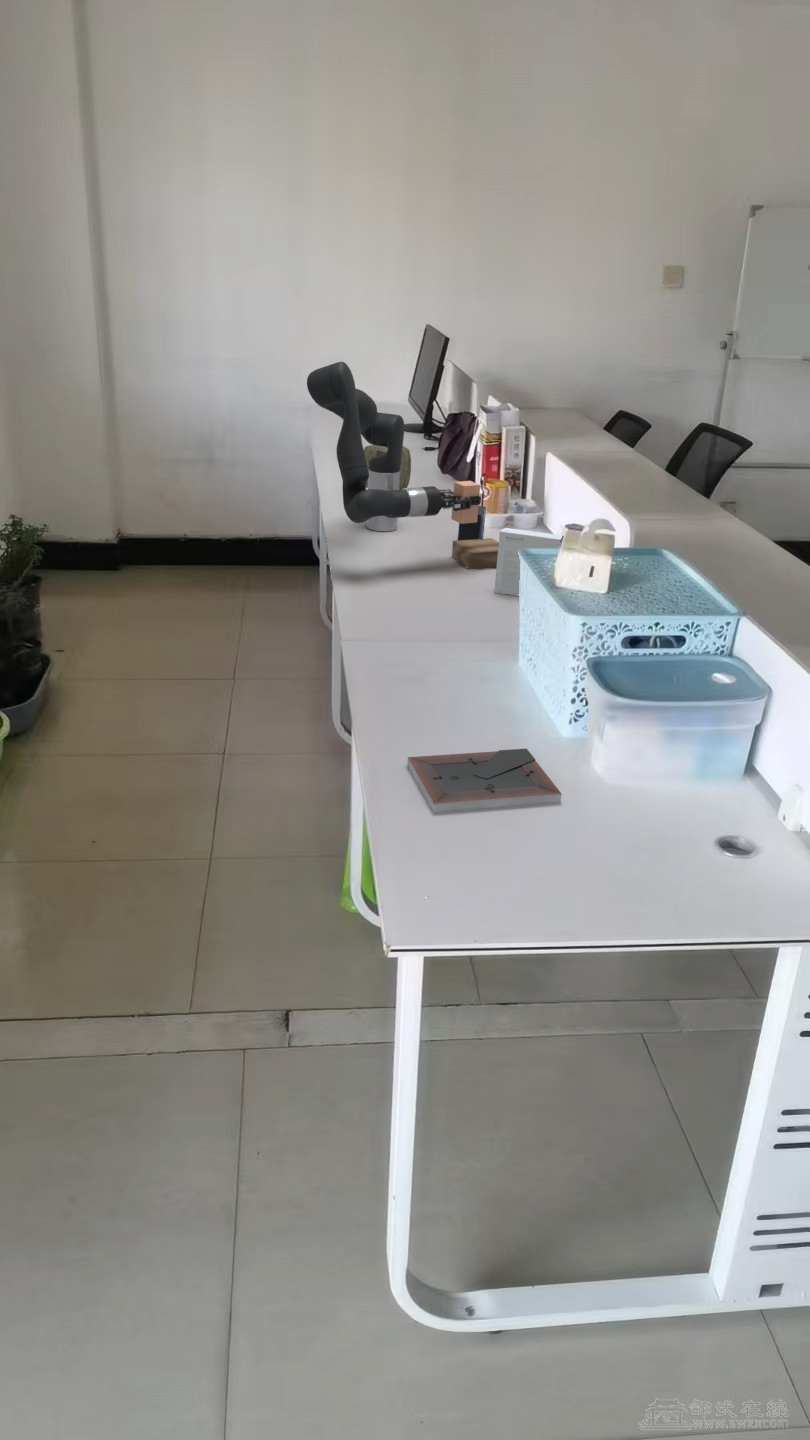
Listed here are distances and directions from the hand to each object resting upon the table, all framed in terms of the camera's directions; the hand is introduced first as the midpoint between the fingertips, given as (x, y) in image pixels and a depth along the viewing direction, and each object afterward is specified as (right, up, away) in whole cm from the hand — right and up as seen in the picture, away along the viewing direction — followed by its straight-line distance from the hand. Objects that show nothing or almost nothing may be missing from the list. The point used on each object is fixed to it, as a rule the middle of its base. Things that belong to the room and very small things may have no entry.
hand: (474, 497), depth 294 cm
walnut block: (+2, -16, +9) cm, 19 cm away
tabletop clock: (-26, +12, +67) cm, 73 cm away
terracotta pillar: (-3, -6, +1) cm, 7 cm away
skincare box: (+15, -28, -16) cm, 36 cm away
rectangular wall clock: (-6, -71, -109) cm, 130 cm away
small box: (0, -9, +24) cm, 26 cm away
